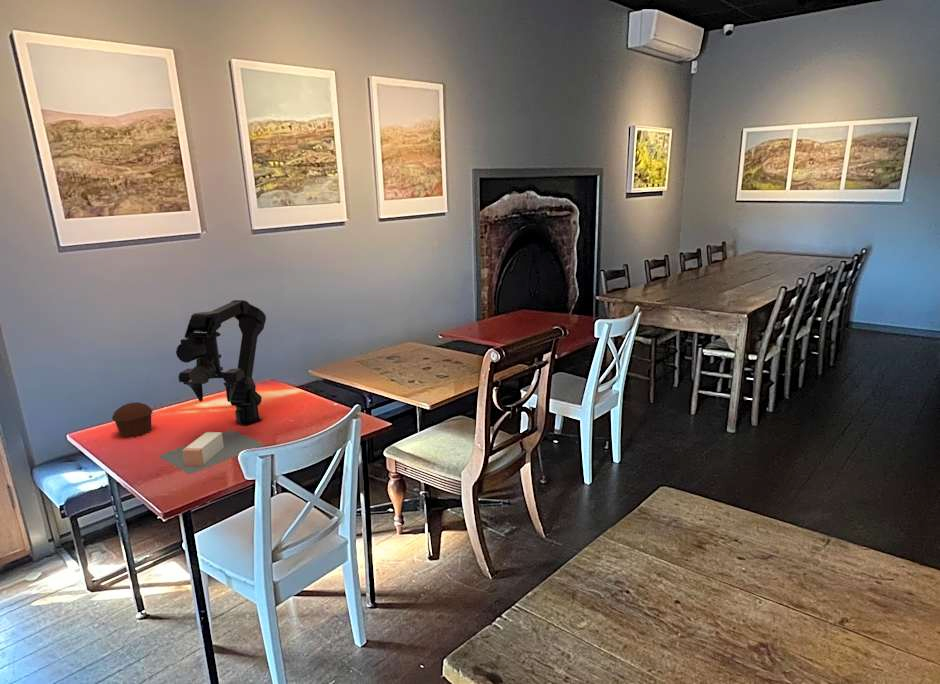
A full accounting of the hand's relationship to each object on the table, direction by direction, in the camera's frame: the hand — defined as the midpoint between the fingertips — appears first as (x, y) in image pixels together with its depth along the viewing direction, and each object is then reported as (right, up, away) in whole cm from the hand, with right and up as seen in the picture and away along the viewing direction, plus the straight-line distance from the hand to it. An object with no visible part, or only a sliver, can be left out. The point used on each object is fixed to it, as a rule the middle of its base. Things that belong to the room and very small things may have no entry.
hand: (215, 401), depth 182 cm
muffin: (-31, -12, +11) cm, 35 cm away
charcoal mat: (+2, -15, -5) cm, 16 cm away
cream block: (+2, -11, -4) cm, 12 cm away
